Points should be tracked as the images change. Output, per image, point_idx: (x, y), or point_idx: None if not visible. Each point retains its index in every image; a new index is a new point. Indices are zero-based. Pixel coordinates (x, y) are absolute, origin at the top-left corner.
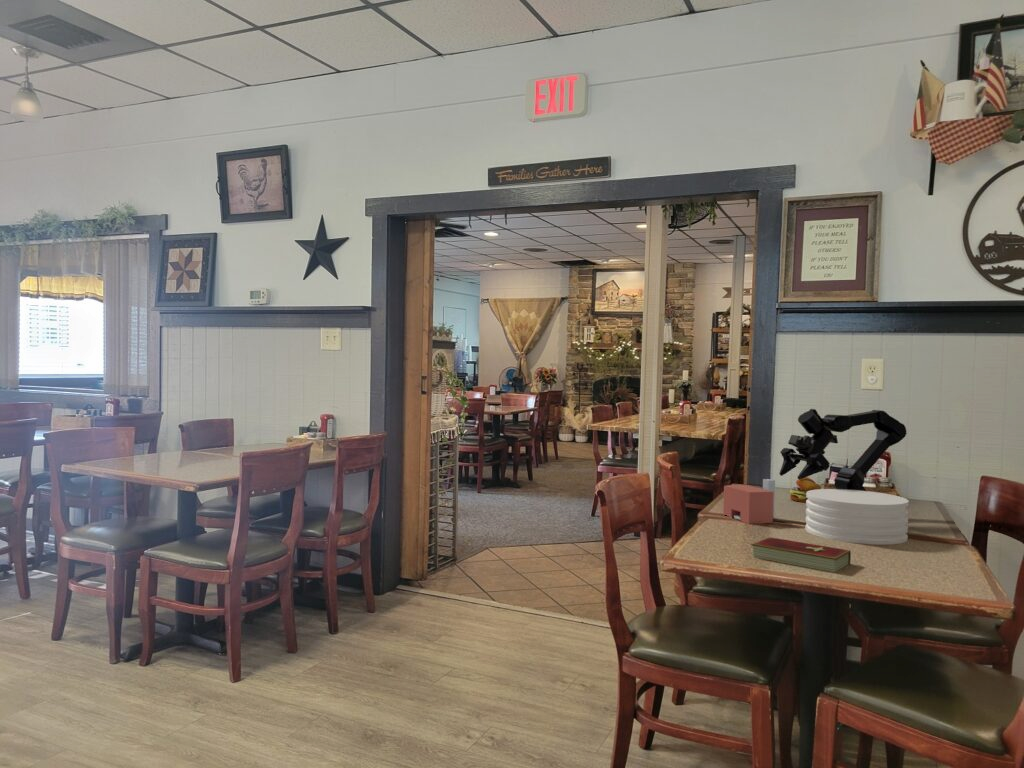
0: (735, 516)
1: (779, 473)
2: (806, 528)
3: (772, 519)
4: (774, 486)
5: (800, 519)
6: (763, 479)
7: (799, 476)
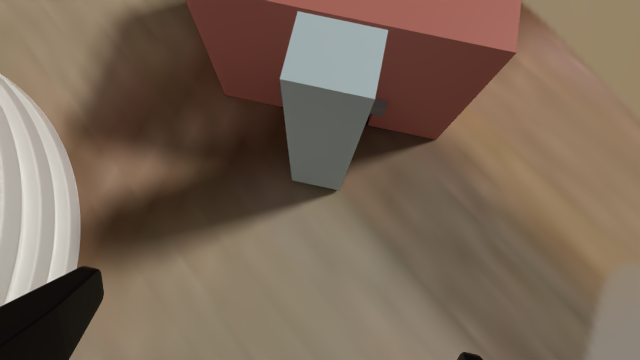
0: None
1: (475, 355)
2: (14, 84)
3: (222, 85)
4: (284, 103)
5: (212, 309)
6: (378, 28)
7: (60, 280)
